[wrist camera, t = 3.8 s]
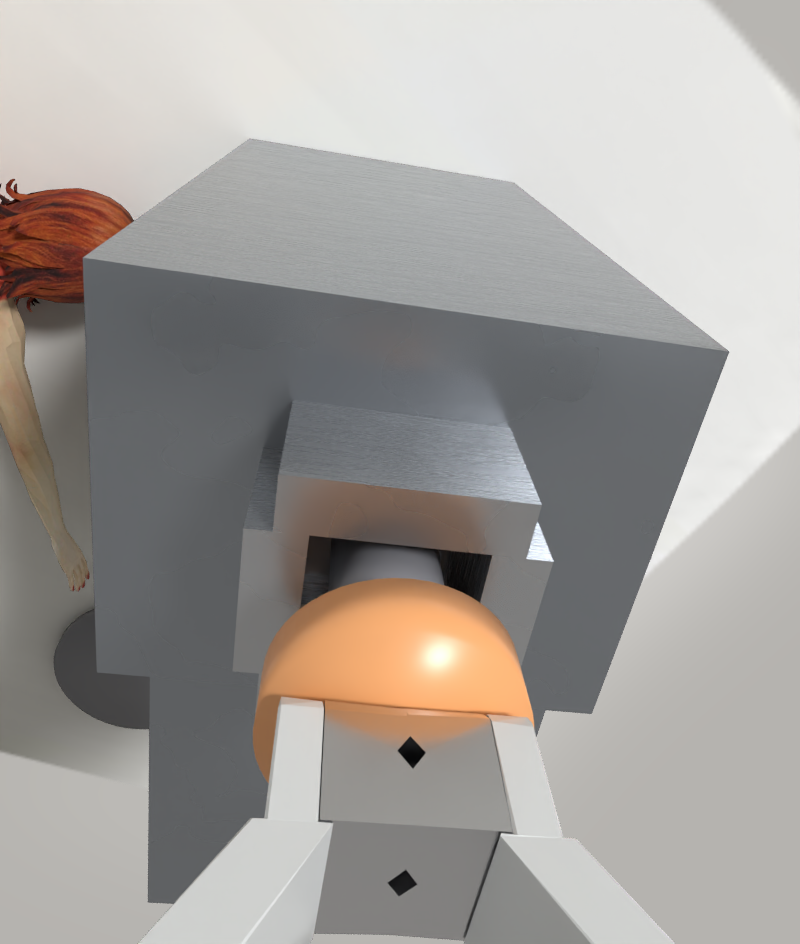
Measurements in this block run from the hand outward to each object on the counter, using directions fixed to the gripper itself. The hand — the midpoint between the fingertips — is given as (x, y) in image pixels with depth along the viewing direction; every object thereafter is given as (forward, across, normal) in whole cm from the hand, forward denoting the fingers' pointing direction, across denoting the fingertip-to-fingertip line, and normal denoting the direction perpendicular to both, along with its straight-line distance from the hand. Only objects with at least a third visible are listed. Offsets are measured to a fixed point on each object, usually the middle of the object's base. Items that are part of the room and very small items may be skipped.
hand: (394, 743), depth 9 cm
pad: (+24, -9, -22) cm, 34 cm away
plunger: (+4, 0, 0) cm, 4 cm away
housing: (+24, 0, -4) cm, 24 cm away
